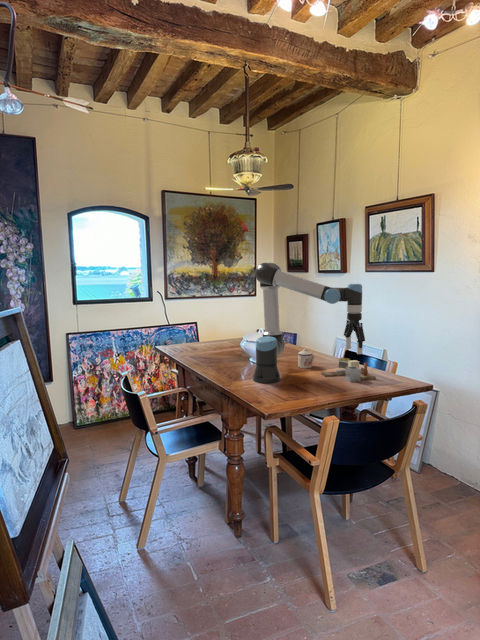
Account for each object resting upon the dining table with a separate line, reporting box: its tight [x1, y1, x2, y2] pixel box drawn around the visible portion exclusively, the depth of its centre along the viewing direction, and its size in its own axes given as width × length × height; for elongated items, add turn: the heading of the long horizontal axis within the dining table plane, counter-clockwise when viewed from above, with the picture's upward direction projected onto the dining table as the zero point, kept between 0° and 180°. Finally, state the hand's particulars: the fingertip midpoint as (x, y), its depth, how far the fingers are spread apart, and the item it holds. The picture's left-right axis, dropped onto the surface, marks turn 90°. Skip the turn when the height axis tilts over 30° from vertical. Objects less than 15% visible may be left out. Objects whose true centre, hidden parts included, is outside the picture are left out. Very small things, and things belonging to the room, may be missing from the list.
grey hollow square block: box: [344, 366, 361, 383], centre depth 213 cm, size 6×6×7 cm
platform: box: [336, 356, 351, 369], centre depth 240 cm, size 12×18×7 cm, turn 45°
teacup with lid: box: [297, 348, 315, 369], centre depth 244 cm, size 12×9×12 cm
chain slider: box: [335, 359, 360, 372], centre depth 226 cm, size 13×4×6 cm, turn 100°
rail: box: [320, 367, 369, 378], centre depth 226 cm, size 26×6×2 cm, turn 100°
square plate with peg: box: [360, 362, 377, 381], centre depth 217 cm, size 8×8×8 cm
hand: (353, 351), depth 211 cm, fingers open, 13 cm apart
